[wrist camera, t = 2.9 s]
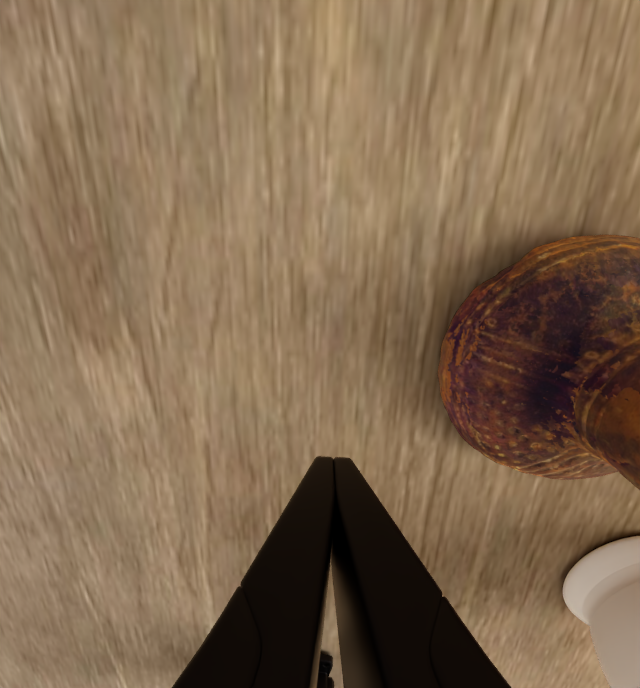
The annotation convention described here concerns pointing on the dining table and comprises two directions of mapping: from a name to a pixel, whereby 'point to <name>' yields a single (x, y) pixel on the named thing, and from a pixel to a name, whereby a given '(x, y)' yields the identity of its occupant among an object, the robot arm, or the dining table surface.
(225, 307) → the dining table surface
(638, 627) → the jar
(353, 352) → the dining table surface
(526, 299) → the brown clay pot
